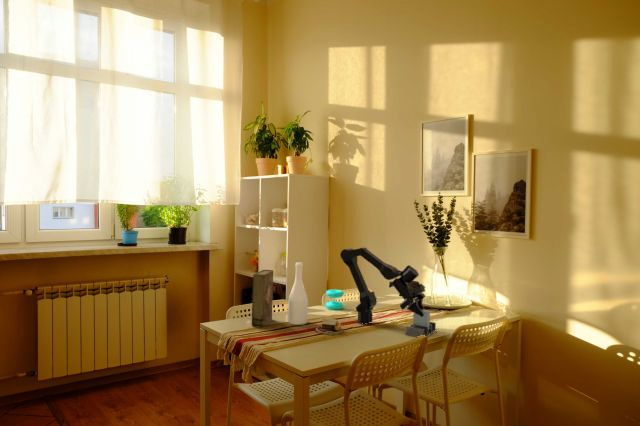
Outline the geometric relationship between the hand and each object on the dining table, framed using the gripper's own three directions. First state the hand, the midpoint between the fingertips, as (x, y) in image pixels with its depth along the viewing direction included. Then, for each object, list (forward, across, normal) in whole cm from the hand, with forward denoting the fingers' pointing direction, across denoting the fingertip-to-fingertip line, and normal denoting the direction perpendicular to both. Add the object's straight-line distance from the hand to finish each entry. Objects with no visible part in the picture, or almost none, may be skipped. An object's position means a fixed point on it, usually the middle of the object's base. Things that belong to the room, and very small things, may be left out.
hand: (424, 315), depth 239 cm
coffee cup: (-13, +51, +25) cm, 59 cm away
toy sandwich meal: (-20, -24, +33) cm, 46 cm away
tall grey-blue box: (+4, 0, +6) cm, 7 cm away
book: (-44, -32, +57) cm, 79 cm away
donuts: (-36, +19, +49) cm, 64 cm away
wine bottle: (-34, -22, +47) cm, 62 cm away
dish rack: (+5, 0, +7) cm, 9 cm away
